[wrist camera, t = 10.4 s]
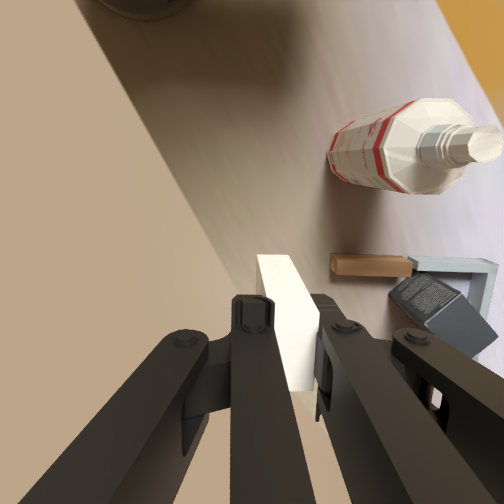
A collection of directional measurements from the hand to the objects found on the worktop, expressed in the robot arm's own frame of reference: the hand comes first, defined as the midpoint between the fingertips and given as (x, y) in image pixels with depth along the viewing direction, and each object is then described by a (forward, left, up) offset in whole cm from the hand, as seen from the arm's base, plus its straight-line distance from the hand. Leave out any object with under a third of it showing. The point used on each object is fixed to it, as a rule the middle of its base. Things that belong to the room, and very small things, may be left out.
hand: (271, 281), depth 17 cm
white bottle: (-7, +14, -32) cm, 35 cm away
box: (+12, +25, -32) cm, 42 cm away
